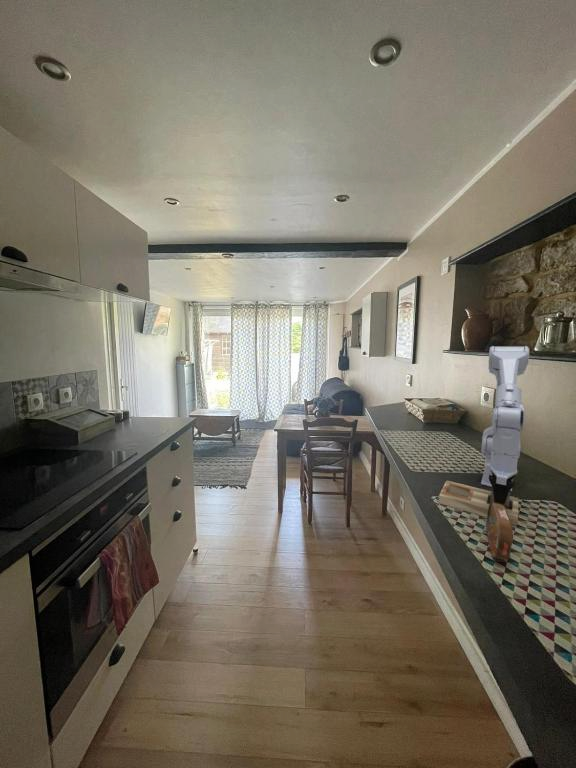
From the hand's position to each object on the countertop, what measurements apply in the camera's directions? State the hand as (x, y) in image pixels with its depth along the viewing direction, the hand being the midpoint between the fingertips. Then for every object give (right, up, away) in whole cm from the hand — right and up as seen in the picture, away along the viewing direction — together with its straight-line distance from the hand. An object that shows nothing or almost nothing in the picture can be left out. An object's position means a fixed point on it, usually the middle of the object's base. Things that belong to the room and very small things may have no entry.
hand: (500, 499), depth 82 cm
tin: (-10, -6, -13) cm, 17 cm away
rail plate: (-4, -3, +4) cm, 6 cm away
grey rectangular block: (0, -3, +1) cm, 3 cm away
